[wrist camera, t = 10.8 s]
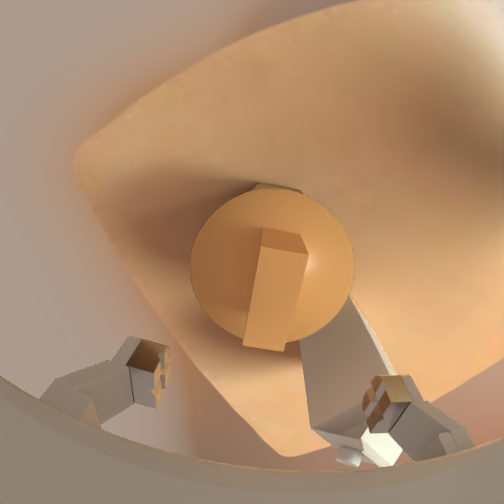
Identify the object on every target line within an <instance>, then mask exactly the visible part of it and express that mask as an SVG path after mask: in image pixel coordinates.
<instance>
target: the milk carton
mask: <svg viewBox="0 0 504 504" xmlns="http://www.w3.org/2000/svg"><path fill="white" fill-rule="evenodd" d="M299 344H300V351H301V359H302V366H303V373H304V380H305V388H306V396H307V404H308V412H309V420H310V426H311V429H312V430H314V431H315V432H316V433H317V434H318V435H320V436H321V437H322V438H324V439H325V440H326V441H327V442H329V443H330V444H331V445H333V446H334V447H335V448H337V449H338V451H337V453H336V454H335V456H334V458H335V459H336V460H337V461H339V462H341V463H343V464H346V465H349V466H353V467H358V466H359V464H360V462H361V461H363V462H368V463H372V464H377V465H378V466H380V467H386V466H393V464H394V463H395V461H396V460H397V458H398V457H399V455H400V453H401V452H402V450H403V449H402V448H401V447H400V446H399V445H398V444H397V443H396V442H395V441H394V440H393V438H392V437H391V436H390V435H389V434H388V433H373V434H370V432H369V429H368V425H367V422H366V421H367V419H368V416H367V415H366V414H364V412H363V408H362V401H363V397H364V395H365V393H366V391H367V390H368V389H370V388H371V387H372V385H371V381H372V380H373V378H374V377H375V376H376V375H396V373H395V371H394V369H393V367H392V365H391V363H390V361H389V359H388V357H387V355H386V353H385V351H384V349H383V348H382V346H381V344H380V342H379V340H378V338H377V336H376V334H375V333H374V331H373V329H372V328H371V326H370V325H369V323H368V322H367V320H366V318H365V317H364V315H363V314H362V312H361V311H360V309H359V308H358V306H357V305H356V303H355V302H354V300H353V299H352V298H351V296H350V295H348V298H347V300H346V301H345V303H344V305H343V307H342V308H341V309H340V311H339V312H338V313H337V315H336V316H335V317H334V318H333V319H332V320H331V321H330V322H329V323H327V324H326V325H325V326H324V327H323V328H321V329H320V330H318V331H316V332H315V333H313V334H311V335H309V336H307V337H304V338H302V339H299Z"/></svg>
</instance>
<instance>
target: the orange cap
mask: <svg viewBox="0 0 504 504" xmlns="http://www.w3.org/2000/svg"><path fill="white" fill-rule="evenodd" d="M354 269H355V266H354V255H353V249H352V246H351V243H350V240H349V237H348V235H347V233H346V232H345V230H344V228H343V227H342V225H341V224H340V222H339V221H338V220H337V218H336V217H335V216H334V215H333V214H332V213H331V212H330V211H329V210H328V209H326V208H325V207H324V206H323V205H321V204H320V203H319V202H317V201H315V200H314V199H312V198H310V197H308V196H306V195H303V194H301V193H298V192H294V191H291V190H285V189H260V190H254V191H251V192H247V193H244V194H241V195H239V196H237V197H235V198H233V199H231V200H230V201H228V202H226V203H225V204H223V205H222V206H221V207H220V208H219V209H217V210H216V211H215V212H214V213H213V214H212V215H211V216H210V218H209V219H208V220H207V221H206V222H205V224H204V225H203V227H202V228H201V229H200V231H199V233H198V235H197V237H196V239H195V242H194V245H193V248H192V252H191V258H190V277H191V283H192V287H193V290H194V293H195V295H196V298H197V300H198V302H199V303H200V305H201V307H202V308H203V310H204V311H205V312H206V314H207V315H208V316H209V317H210V318H211V319H212V320H213V321H214V322H215V323H216V324H217V325H219V326H220V327H221V328H222V329H224V330H226V331H227V332H229V333H230V334H233V335H235V336H237V337H239V338H242V339H243V345H242V346H248V347H255V348H261V349H268V350H274V351H282V352H284V348H285V345H286V343H287V342H291V341H296V340H299V339H302V338H304V337H307V336H309V335H311V334H313V333H315V332H316V331H318V330H320V329H321V328H323V327H324V326H325V325H326V324H327V323H329V322H330V321H331V320H332V319H333V318H334V317H335V316H336V315H337V313H338V312H339V311H340V309H341V308H342V307H343V305H344V303H345V301H346V300H347V298H348V295H349V293H350V290H351V287H352V283H353V279H354Z"/></svg>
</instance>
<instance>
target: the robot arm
mask: <svg viewBox="0 0 504 504" xmlns="http://www.w3.org/2000/svg"><path fill="white" fill-rule="evenodd" d="M169 356H170V348H169V346H166V345H162V344H159V343H155V342H152V341H148V340H145V339H141V338H137V337H134V336H130V337H128V338H127V339H126V341H125V342H124V344H123V345H122V346H121V348H120V349H119V351H118V352H117V354H116V355H115V356H114V358H113V359H112V361H110V360H106V361H103V362H101V363H98V364H95V365H93V366H90V367H87V368H85V369H82V370H79V371H77V372H73V373H71V374H68V375H65V376H62V377H60V378H56V379H55V380H54V382H53V383H52V384H51V385H50V386H49V388H48V389H47V390H46V391H45V392H44V394H43V395H42V396H41V397H40V399H37V398H35V397H33V396H32V395H30V394H28V393H26V392H25V391H23V390H21V389H20V388H18V387H17V386H15V385H14V384H12V383H10V382H9V381H7V380H6V379H4V378H3V377H1V376H0V504H504V437H501V438H498V439H496V440H493V441H490V442H488V443H485V444H482V445H479V446H476V447H475V445H474V443H473V441H472V439H471V437H470V435H469V434H468V432H467V430H466V428H465V427H464V426H462V425H461V424H459V423H458V422H456V421H455V420H453V419H452V418H451V417H449V416H448V415H446V414H445V413H443V412H442V411H441V410H439V409H437V408H436V407H435V406H433V405H432V404H431V403H429V402H428V401H424V400H423V398H422V396H421V394H420V392H419V391H418V389H417V387H416V385H415V383H414V381H413V379H412V378H411V376H409V375H376V376H375V377H374V378H373V380H372V381H371V385H372V387H371V388H370V389H368V390H367V391H366V393H365V395H364V397H363V401H362V408H363V412H364V414H366V415H367V416H368V419H367V421H366V422H367V425H368V429H369V432H370V434H373V433H388V434H389V435H390V436H391V437H392V438H393V440H394V441H395V442H396V443H397V444H398V445H399V446H400V447H401V448H402V449H403V450H404V451H405V452H406V453H407V454H408V455H409V456H410V457H411V458H412V460H413V461H414V462H412V463H406V464H400V465H393V466H386V467H377V468H368V469H356V470H338V471H294V470H275V469H264V468H254V467H245V466H238V465H231V464H224V463H219V462H213V461H208V460H202V459H198V458H192V457H188V456H184V455H180V454H175V453H172V452H167V451H164V450H161V449H157V448H153V447H150V446H147V445H143V444H141V443H137V442H134V441H131V440H128V439H126V438H123V437H120V436H117V435H115V434H112V433H109V432H107V431H104V430H102V428H101V424H102V423H104V422H106V421H107V420H109V419H110V418H112V417H114V416H115V415H117V414H119V413H120V412H122V411H123V410H125V409H127V408H128V407H130V406H131V405H133V404H134V403H137V404H141V405H144V406H148V407H152V408H157V406H158V403H159V401H160V399H161V396H162V393H161V390H162V389H163V388H165V387H166V384H167V382H168V378H169V372H170V364H169V362H168V361H167V360H168V358H169Z"/></svg>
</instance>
